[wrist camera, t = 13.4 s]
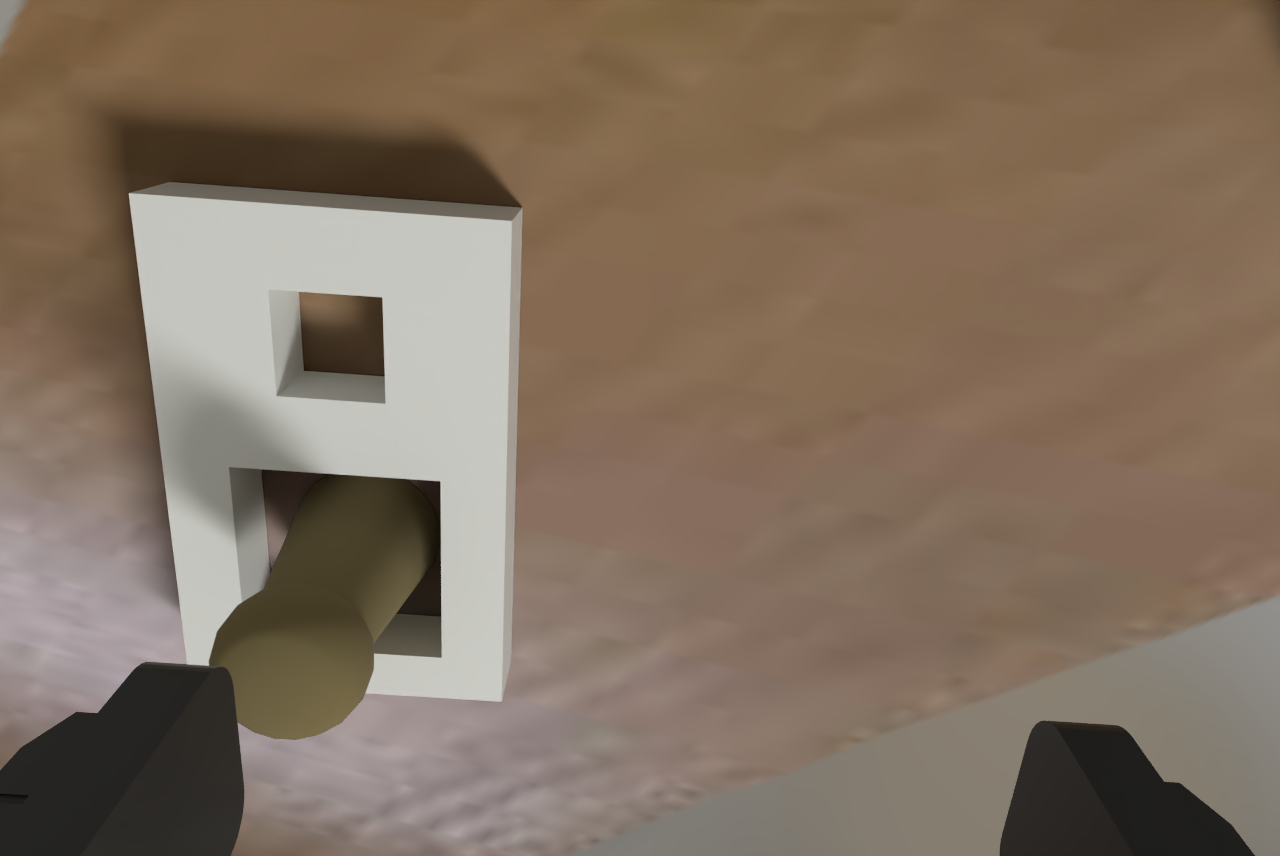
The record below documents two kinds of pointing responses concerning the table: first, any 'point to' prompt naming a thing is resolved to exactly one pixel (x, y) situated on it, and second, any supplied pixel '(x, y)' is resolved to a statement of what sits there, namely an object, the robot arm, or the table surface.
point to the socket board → (337, 397)
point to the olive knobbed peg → (326, 604)
